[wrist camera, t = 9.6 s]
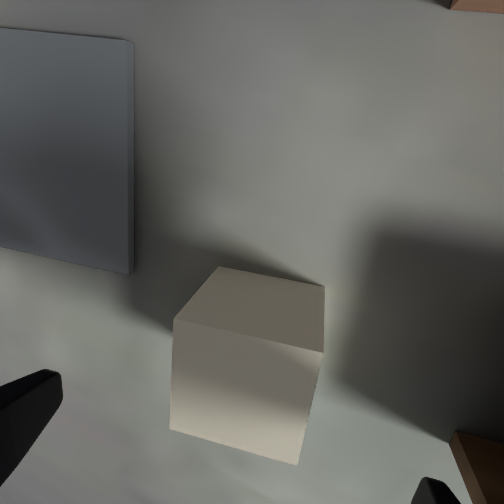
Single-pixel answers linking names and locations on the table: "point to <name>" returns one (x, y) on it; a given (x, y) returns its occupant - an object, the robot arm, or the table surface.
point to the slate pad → (67, 148)
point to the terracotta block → (479, 5)
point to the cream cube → (248, 362)
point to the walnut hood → (480, 467)
